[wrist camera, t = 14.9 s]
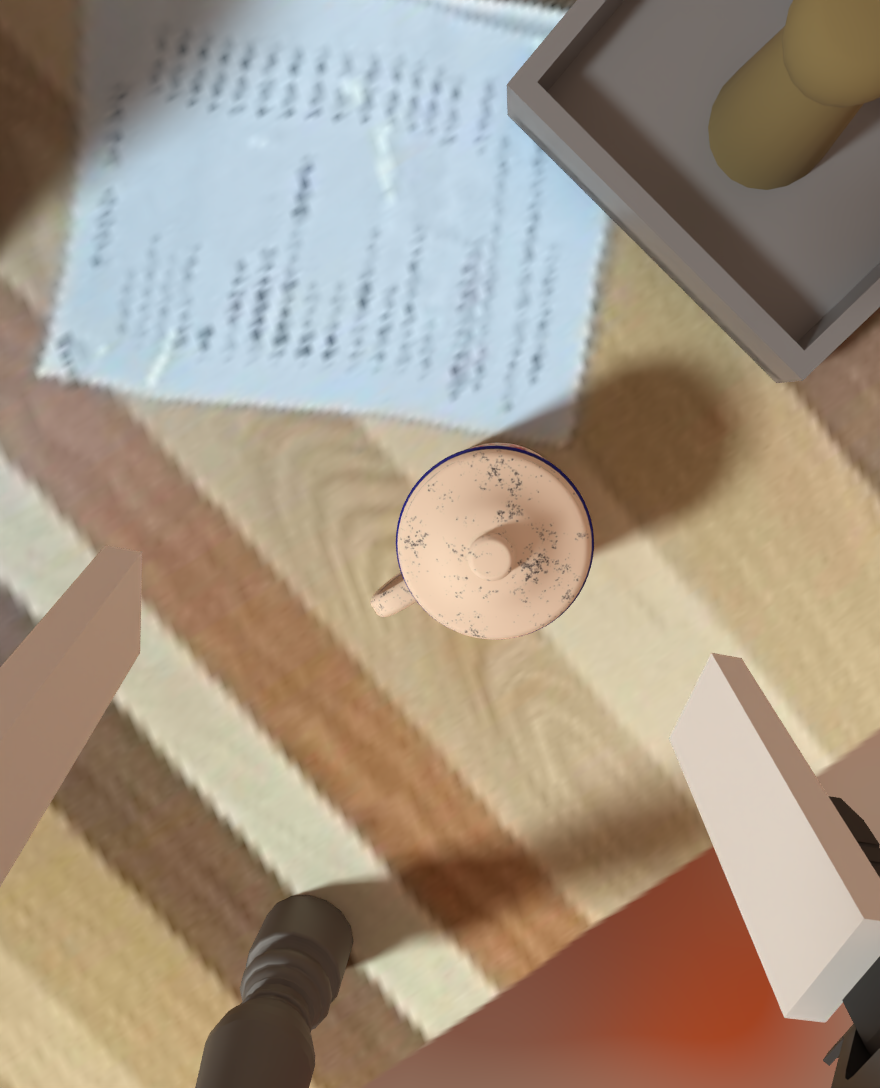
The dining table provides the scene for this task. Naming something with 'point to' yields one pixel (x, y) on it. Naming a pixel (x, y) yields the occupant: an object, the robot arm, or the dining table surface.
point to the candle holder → (280, 999)
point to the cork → (797, 93)
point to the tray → (708, 172)
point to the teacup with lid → (491, 544)
